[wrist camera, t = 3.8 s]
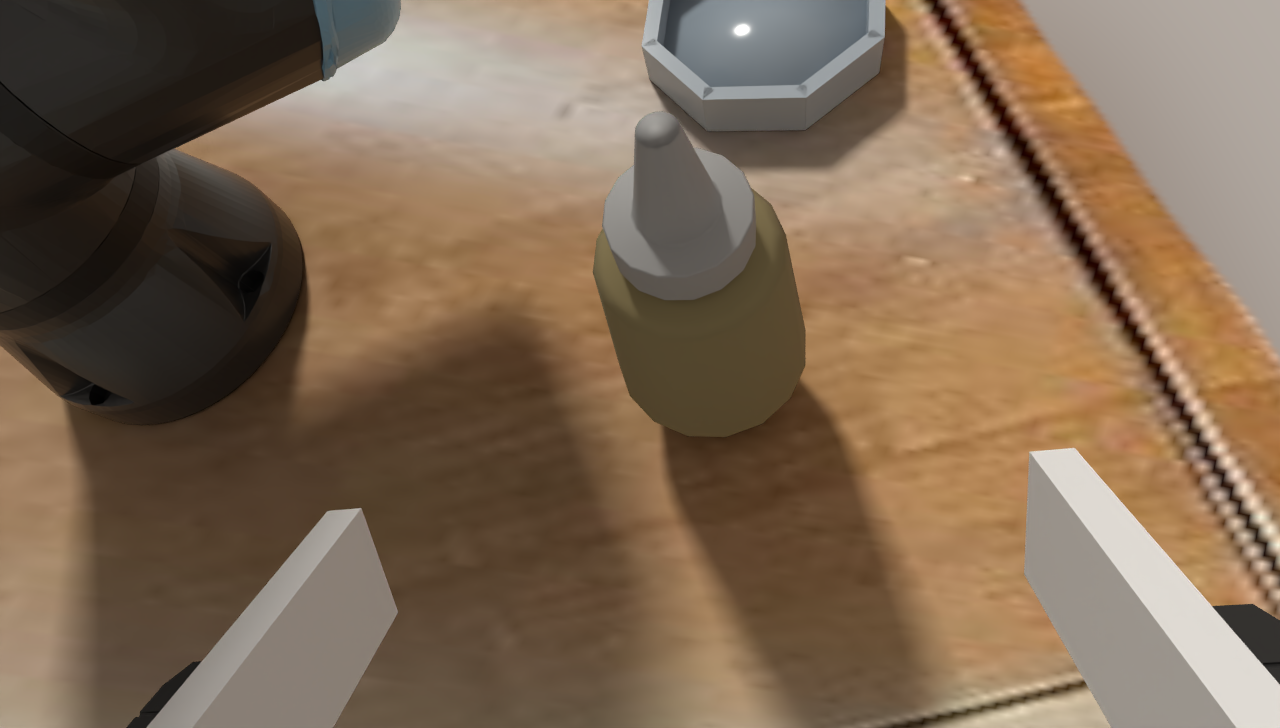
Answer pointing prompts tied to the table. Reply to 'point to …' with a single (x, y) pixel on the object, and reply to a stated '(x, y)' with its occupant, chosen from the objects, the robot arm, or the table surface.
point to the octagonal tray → (762, 58)
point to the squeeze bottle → (697, 288)
